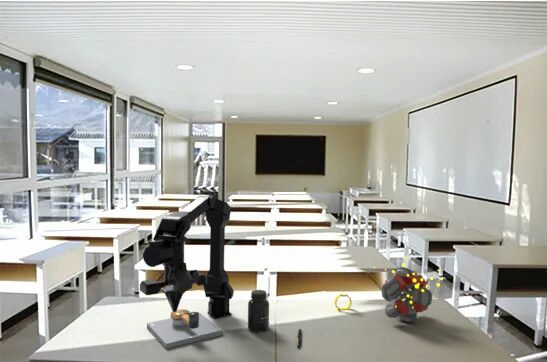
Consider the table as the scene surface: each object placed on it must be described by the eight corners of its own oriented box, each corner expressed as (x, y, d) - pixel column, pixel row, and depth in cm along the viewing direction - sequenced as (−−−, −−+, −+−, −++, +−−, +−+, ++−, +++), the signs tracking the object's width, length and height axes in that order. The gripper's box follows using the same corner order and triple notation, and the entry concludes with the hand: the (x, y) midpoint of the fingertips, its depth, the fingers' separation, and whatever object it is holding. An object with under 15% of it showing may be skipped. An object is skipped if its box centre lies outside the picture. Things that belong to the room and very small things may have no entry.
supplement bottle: (266, 333, 133) (266, 296, 132) (245, 331, 134) (245, 294, 133) (270, 325, 139) (271, 289, 139) (250, 323, 141) (250, 288, 140)
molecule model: (413, 341, 127) (415, 267, 126) (357, 321, 143) (358, 255, 142) (453, 321, 144) (455, 255, 143) (398, 304, 159) (400, 245, 158)
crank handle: (167, 315, 137) (167, 303, 137) (184, 311, 141) (184, 299, 140) (186, 330, 125) (186, 317, 125) (205, 325, 129) (205, 312, 129)
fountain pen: (298, 330, 136) (298, 325, 136) (302, 330, 136) (301, 325, 136) (296, 350, 122) (296, 345, 122) (300, 350, 122) (300, 345, 122)
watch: (349, 308, 156) (350, 292, 156) (351, 311, 153) (353, 295, 153) (333, 307, 156) (334, 291, 155) (335, 310, 153) (336, 294, 152)
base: (198, 316, 147) (198, 306, 146) (222, 334, 132) (222, 323, 131) (146, 327, 137) (146, 317, 137) (166, 349, 122) (166, 337, 121)
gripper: (153, 269, 111) (153, 327, 112) (215, 260, 123) (215, 313, 123) (138, 261, 120) (139, 315, 121) (198, 253, 132) (198, 302, 132)
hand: (174, 311), depth 124 cm, fingers closed
